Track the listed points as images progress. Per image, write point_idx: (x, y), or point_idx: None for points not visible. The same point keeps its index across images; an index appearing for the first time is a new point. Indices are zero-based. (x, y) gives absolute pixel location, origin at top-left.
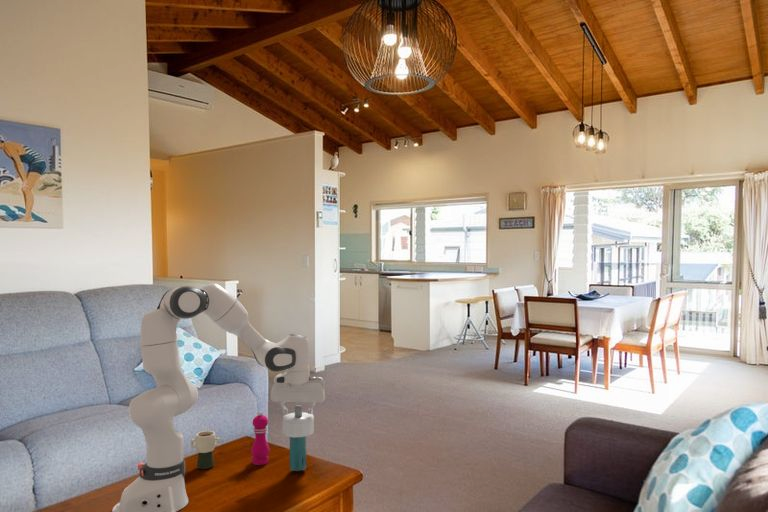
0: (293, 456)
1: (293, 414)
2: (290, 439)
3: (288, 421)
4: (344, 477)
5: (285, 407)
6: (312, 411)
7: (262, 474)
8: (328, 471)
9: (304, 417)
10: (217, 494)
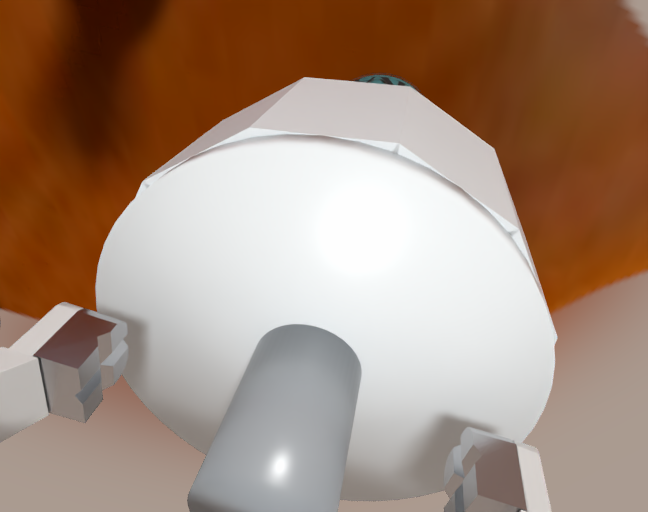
0: None
1: (226, 251)
2: None
3: (201, 446)
4: (627, 262)
5: (26, 368)
6: (534, 474)
7: (185, 111)
8: (568, 162)
9: (391, 415)
10: (60, 264)
